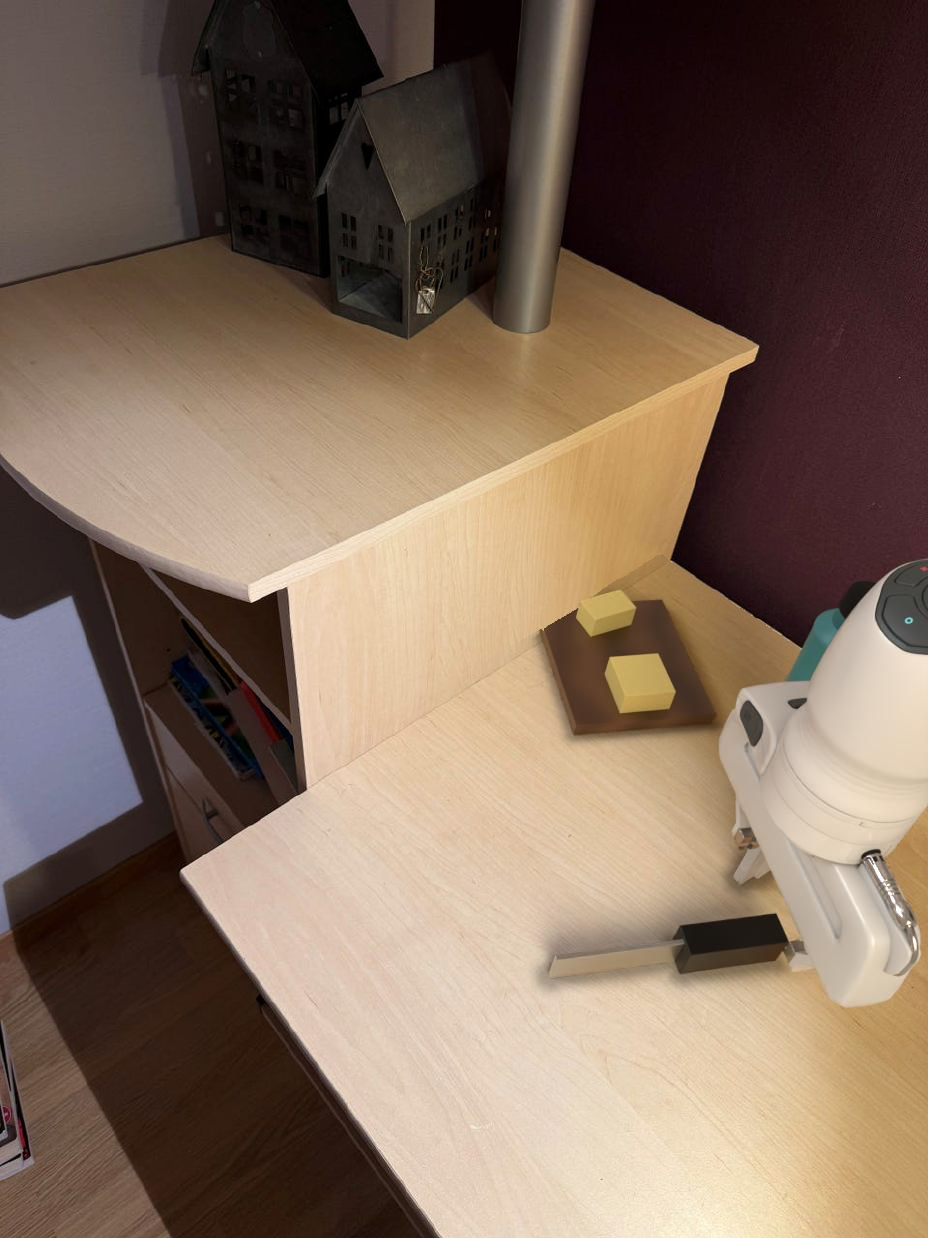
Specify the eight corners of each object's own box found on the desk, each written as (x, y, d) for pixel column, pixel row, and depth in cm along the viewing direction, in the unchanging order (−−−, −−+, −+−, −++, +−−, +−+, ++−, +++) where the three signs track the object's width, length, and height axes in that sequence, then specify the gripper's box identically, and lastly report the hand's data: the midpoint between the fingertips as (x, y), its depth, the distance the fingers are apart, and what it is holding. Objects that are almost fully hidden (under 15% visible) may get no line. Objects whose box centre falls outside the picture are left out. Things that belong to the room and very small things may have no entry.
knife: (763, 932, 72) (776, 912, 70) (775, 961, 70) (789, 942, 68) (545, 960, 69) (551, 941, 66) (552, 992, 67) (560, 972, 65)
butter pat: (615, 606, 96) (620, 588, 94) (631, 625, 94) (636, 607, 92) (575, 617, 94) (580, 600, 92) (590, 637, 92) (595, 619, 90)
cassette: (742, 891, 75) (773, 841, 69) (726, 874, 76) (755, 822, 70) (836, 827, 80) (871, 776, 75) (819, 812, 81) (853, 760, 76)
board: (658, 609, 98) (662, 599, 97) (712, 724, 87) (717, 714, 86) (534, 616, 96) (536, 605, 95) (573, 735, 85) (576, 725, 84)
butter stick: (652, 670, 90) (658, 653, 88) (669, 709, 86) (676, 691, 84) (604, 674, 89) (609, 656, 87) (619, 713, 85) (625, 696, 83)
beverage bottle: (753, 767, 84) (835, 612, 70) (754, 715, 89) (831, 559, 75) (824, 785, 83) (921, 632, 69) (821, 731, 88) (911, 577, 74)
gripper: (980, 941, 49) (878, 1039, 59) (814, 663, 63) (754, 779, 73) (875, 956, 48) (789, 1053, 58) (730, 670, 62) (681, 787, 72)
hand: (769, 898), depth 66 cm, fingers open, 8 cm apart
